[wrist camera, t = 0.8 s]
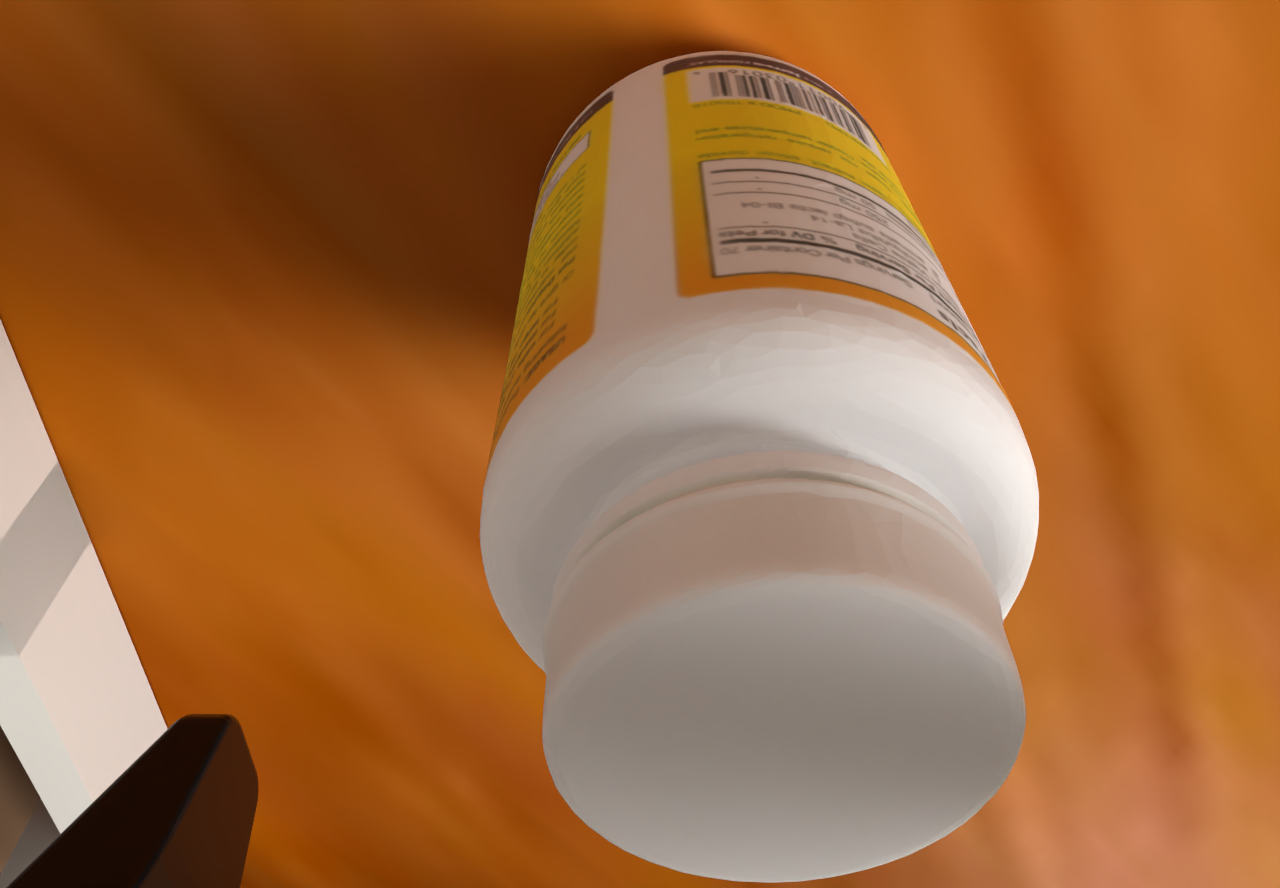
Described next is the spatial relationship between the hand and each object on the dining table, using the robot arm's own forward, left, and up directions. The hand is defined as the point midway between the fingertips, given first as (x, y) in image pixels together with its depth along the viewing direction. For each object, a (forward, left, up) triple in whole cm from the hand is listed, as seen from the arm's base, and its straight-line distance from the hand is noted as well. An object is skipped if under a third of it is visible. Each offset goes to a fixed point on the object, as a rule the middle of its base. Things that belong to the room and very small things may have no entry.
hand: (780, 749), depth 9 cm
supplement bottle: (0, 0, -10) cm, 10 cm away
